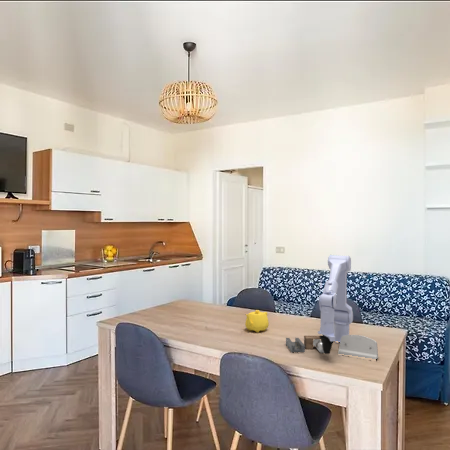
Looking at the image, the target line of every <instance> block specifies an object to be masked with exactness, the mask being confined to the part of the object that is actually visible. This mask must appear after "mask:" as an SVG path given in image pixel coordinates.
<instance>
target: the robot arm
mask: <svg viewBox="0 0 450 450" xmlns="http://www.w3.org/2000/svg"><path fill="white" fill-rule="evenodd" d="M327 265H328V266H327V267H328V269H329V270H330V271H329V279H328V280H326V281H325V283H324V287H323V291H322V294H320V295H319V297H318V304H319V311H320V327H319V331H317V334H318V336H319V337H320V340H321V342H322V345H323V351H324V353H325V354H326V355H327V354H330V352H331V350H332V349H331V346H332V347H333V344H334V341H335V343H336V341H338V342H340V341H341V337H342V336H346V335H350V325H351V324H352V323H353V320H354V313H353V307H352V306H351V305H349V304H348V303H347V300H348V299H347V293H348V292H347V285H348V284H347V280H348V279H347V276H348V275H347V274H348V272H351V271H352V258H351V256H350V255H337V254H336V255H335V254H330V255H328V257H327ZM325 354H324V355H325Z"/></svg>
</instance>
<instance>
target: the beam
mask: <svg viewBox="0 0 450 450" xmlns="http://www.w3.org/2000/svg"><path fill="white" fill-rule="evenodd" d="M319 336H320V335H303V344H304V345H305V350H314V345H313V341H314V339H320V337H319ZM320 340H321V339H320ZM331 348H332V349H333V345H332V346H331Z"/></svg>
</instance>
